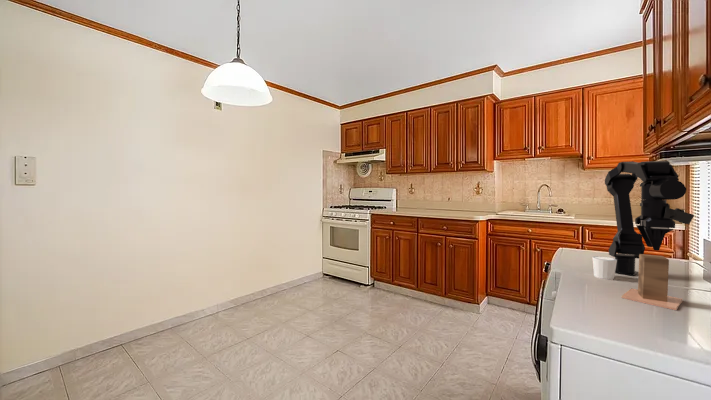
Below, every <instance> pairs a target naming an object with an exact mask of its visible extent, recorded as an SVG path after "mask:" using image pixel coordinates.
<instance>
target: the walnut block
mask: <svg viewBox="0 0 711 400" xmlns="http://www.w3.org/2000/svg"><path fill="white" fill-rule="evenodd" d="M669 263H670V259H669V258H667V257H666V256H663V255H655V254H645V253H644V254H639V258H638V276H637V277H638V280H637V281H638V282H637V290H638V294H639V295H640V296H641V297H642V298H643V299H650V300H657V301H664V302H667V296H669V295H668V290H669V288H668V287H669V268H670V267H669V266H670V264H669Z"/></svg>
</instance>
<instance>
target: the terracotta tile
mask: <svg viewBox="0 0 711 400" xmlns="http://www.w3.org/2000/svg"><path fill="white" fill-rule="evenodd" d="M621 298H622V299H625V300H629V301H634V302H638V303H644V304H647V305H652V306H656V307H660V308H664V309H670V310H674V311H677V310H678V308H679V307H680V305H681V304H682V303H683V301H684V298H680V297H675V296H670V295H667V302H664V301H657V300H650V299H643V298H642V297H641V296H640V295H639V294H638V288H637V289H635V288H629V290H628V291H626V292H625V293H623V294H622V295H621Z"/></svg>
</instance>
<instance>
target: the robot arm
mask: <svg viewBox="0 0 711 400" xmlns="http://www.w3.org/2000/svg"><path fill="white" fill-rule="evenodd" d="M638 178H639V179H640V180H641V183H639V187H640V188H641V189H640V190H641V193H640V194H641V195H640V196H641V197H640V200H641V202H639V206H640V207H641V208H640V215H638V216H637V217H636V218H635V219H634V220H635V221H634V220H633V211H632V206H631V204H632V203H631V197H630V193H631V192H632V191H633V189H634V187H635V186H634V185H635V183H636V181H637V180H638ZM679 180H680V178H679V174H678V173H677V172H676V170H675V169H674V166H673V165H672V164H671V162H670V161H668V160H655V161H654V160H652V161H649V160H648V161H640V162H638V161H621V162H618V163H617V165H616V166H615V168H612V169H611V170H609V171H608V172H607V174H606V176H605V178H604V184H605V186H606V190H607V192H608V193H609V194H610V195H611V196H612V197H613V204H614V213H615V220H616V228H617V229H616V230H617V232H616V233H615V235H614V236H613V237H612V243H611V244H610V246H609V247H608V255H609V256H611V257H612V258H614V259H616V260H617V263H616V270H615V274H621V275H627V276H632V277H633V276H634V277H635V276H636V275H637V274H639V271H636V259H639V254H645V249H646V247H647V248H652V249H653V250H654V251H660V250H661V249H660V248H661V246H662V243H663V241H664V238H665V236H666V234H669V233H670V232H672V231H674V229H676V222H678V223H681V224H684V225H690V224H691V222H692V220H693V218H695V214H694V213H689V212H685V210H684V209H680V208H677V207H676V208H670V207H671V206H670V204H669V203H668V202H667V200H670V201H671V200H678V199H681V198H683V197H684V196H685V194H686V192H687V188H686V186H685V184H684V183H683V182H681V181H679ZM634 223H635V225H636V228H637V230H638V231H639V233H638V232H636V230H635V225H634ZM644 242H645V243H644ZM645 245H646V246H645Z"/></svg>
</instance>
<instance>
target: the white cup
mask: <svg viewBox="0 0 711 400" xmlns="http://www.w3.org/2000/svg"><path fill="white" fill-rule="evenodd" d="M591 258H592V267H593V269H592V270H593V277H595V278H597V279H602V280H610V279H611V280H615V274H616V273H615V270H616V263H617V260H616V259H615V257H609V256H598V255H597V256H596V255H595V256H592V257H591Z"/></svg>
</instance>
